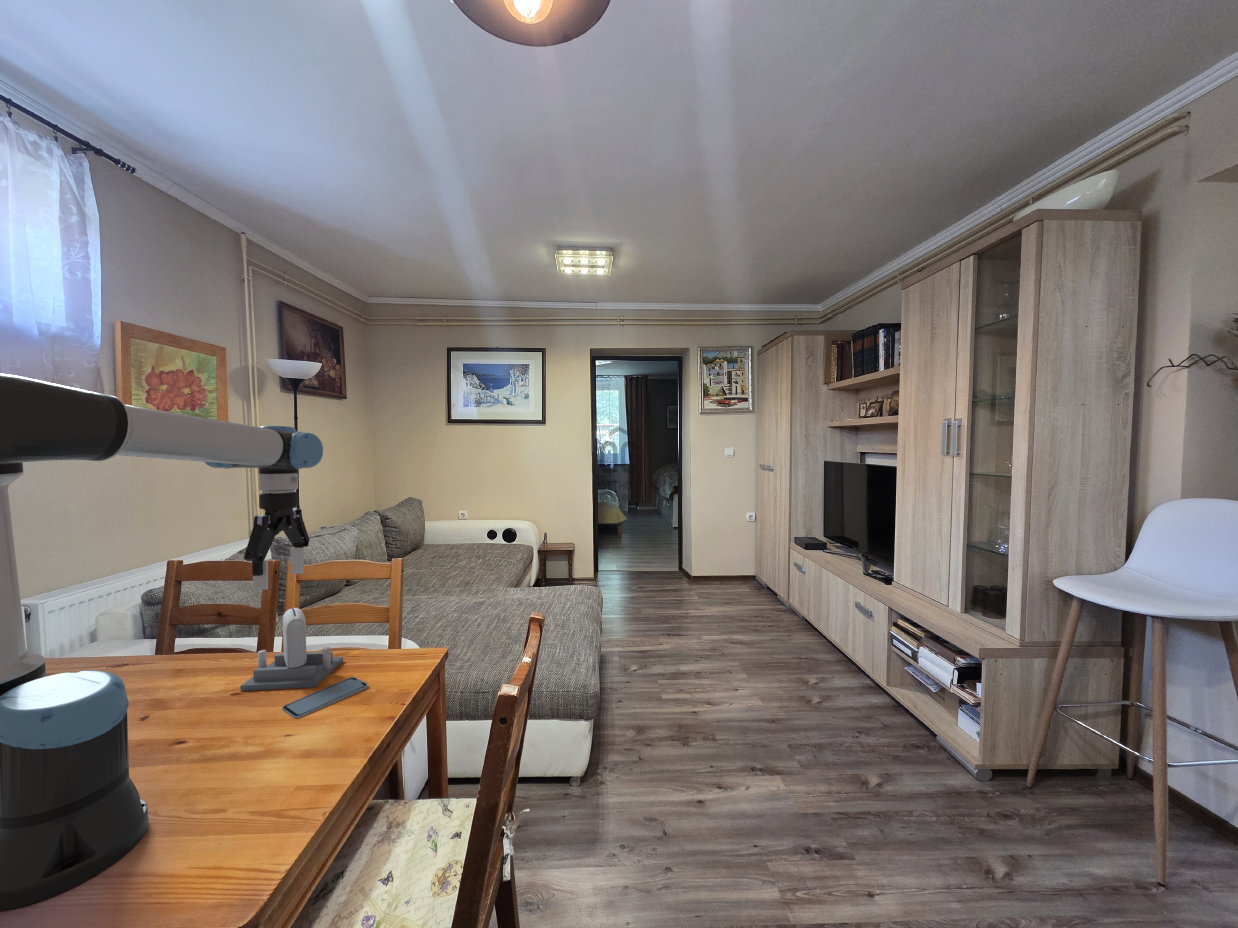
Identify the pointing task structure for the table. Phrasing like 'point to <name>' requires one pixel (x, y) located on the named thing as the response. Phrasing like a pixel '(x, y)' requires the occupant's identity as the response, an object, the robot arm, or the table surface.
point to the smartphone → (324, 697)
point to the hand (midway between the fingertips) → (280, 581)
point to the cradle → (292, 671)
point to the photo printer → (294, 638)
